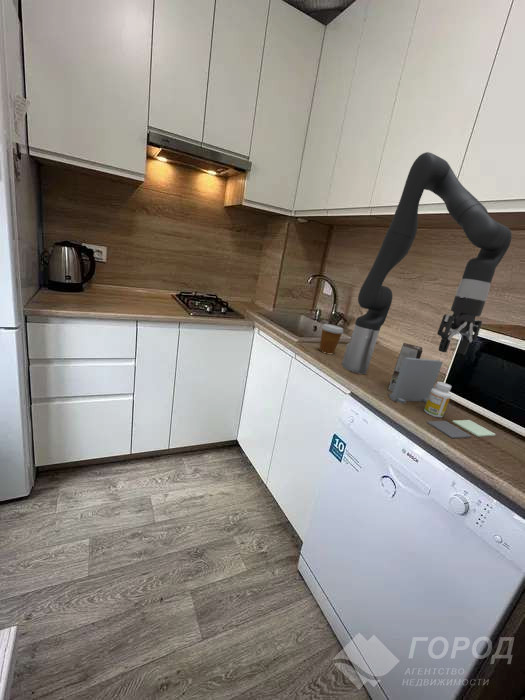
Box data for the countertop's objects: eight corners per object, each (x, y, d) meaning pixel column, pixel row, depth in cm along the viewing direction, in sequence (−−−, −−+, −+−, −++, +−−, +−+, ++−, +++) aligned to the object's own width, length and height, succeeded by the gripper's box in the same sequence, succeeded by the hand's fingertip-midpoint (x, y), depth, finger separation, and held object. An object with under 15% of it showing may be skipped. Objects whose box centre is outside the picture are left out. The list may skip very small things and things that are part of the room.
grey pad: (426, 422, 92) (427, 421, 92) (445, 422, 96) (445, 420, 96) (452, 438, 85) (452, 437, 85) (471, 437, 89) (471, 435, 89)
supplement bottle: (436, 411, 103) (447, 382, 101) (446, 419, 98) (458, 389, 96) (420, 408, 103) (430, 379, 100) (429, 416, 98) (440, 386, 95)
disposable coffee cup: (317, 352, 144) (323, 326, 140) (314, 347, 153) (321, 322, 150) (338, 357, 144) (345, 331, 140) (335, 351, 153) (342, 326, 150)
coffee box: (407, 396, 111) (422, 351, 107) (387, 390, 114) (402, 345, 109) (408, 389, 119) (423, 347, 115) (389, 383, 122) (403, 341, 117)
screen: (386, 396, 107) (400, 355, 103) (420, 396, 114) (434, 358, 110) (398, 403, 103) (412, 361, 99) (432, 403, 110) (447, 364, 106)
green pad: (452, 421, 97) (452, 420, 97) (469, 421, 101) (469, 419, 100) (478, 436, 90) (478, 435, 90) (495, 435, 94) (495, 434, 94)
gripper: (473, 298, 99) (455, 350, 103) (441, 291, 93) (424, 347, 97) (499, 303, 93) (479, 358, 96) (467, 295, 86) (447, 355, 90)
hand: (451, 352), depth 97 cm, fingers open, 8 cm apart
